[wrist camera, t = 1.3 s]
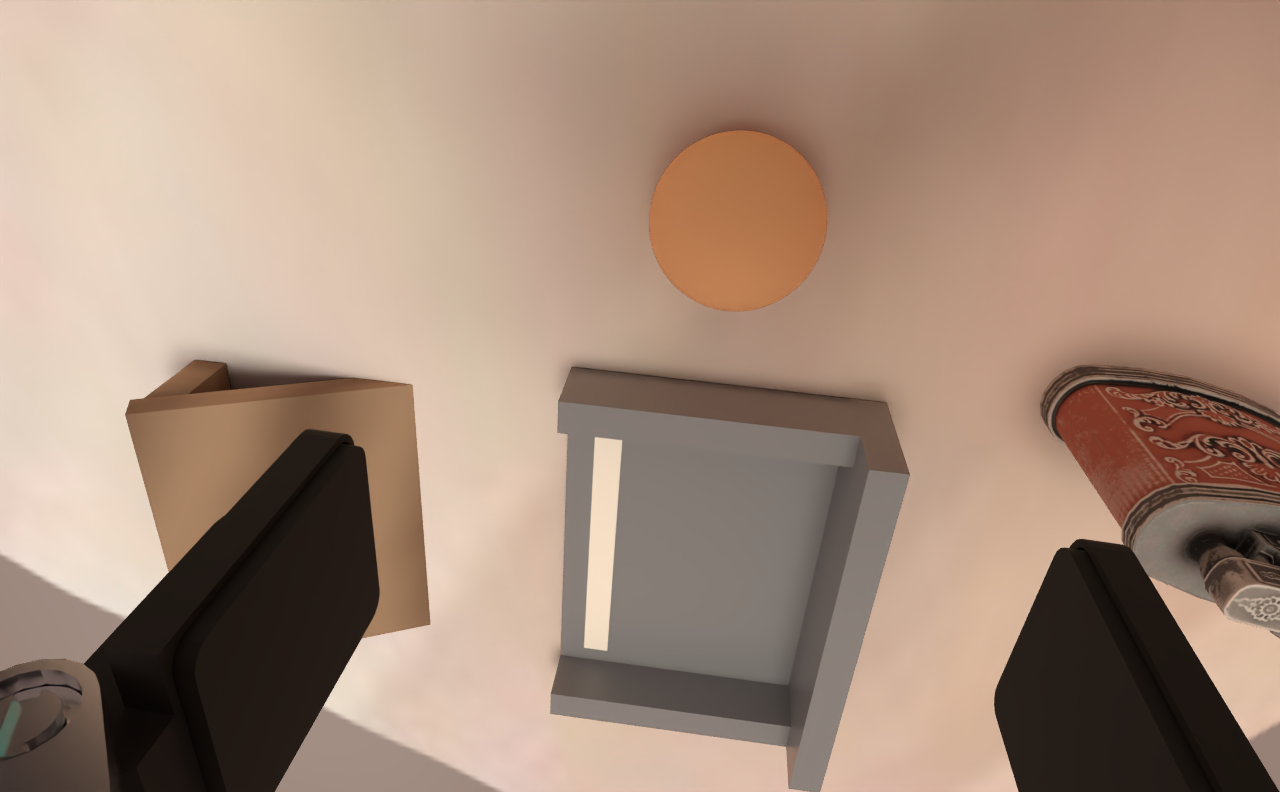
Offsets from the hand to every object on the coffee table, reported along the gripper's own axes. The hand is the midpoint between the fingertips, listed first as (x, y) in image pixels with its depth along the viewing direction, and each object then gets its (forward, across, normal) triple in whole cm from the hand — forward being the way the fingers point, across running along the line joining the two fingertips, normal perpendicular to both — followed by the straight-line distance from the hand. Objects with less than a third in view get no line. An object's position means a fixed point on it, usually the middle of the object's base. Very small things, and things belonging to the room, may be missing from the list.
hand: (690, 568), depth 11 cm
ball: (+17, 0, 0) cm, 17 cm away
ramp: (+16, +15, +14) cm, 26 cm away
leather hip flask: (+17, -15, +5) cm, 24 cm away
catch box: (+16, -1, +14) cm, 21 cm away
